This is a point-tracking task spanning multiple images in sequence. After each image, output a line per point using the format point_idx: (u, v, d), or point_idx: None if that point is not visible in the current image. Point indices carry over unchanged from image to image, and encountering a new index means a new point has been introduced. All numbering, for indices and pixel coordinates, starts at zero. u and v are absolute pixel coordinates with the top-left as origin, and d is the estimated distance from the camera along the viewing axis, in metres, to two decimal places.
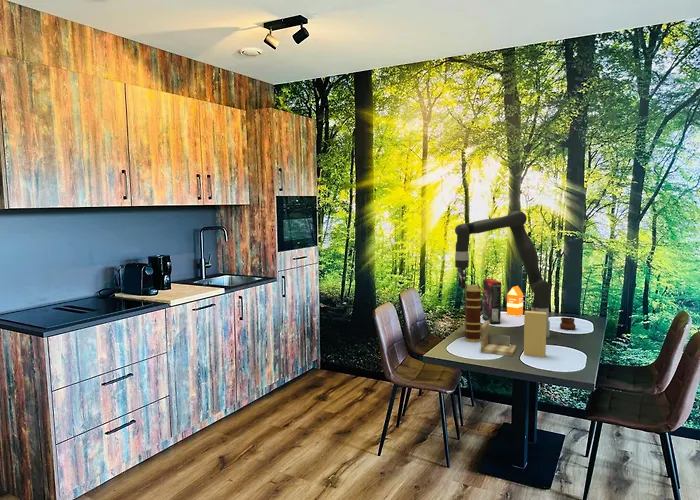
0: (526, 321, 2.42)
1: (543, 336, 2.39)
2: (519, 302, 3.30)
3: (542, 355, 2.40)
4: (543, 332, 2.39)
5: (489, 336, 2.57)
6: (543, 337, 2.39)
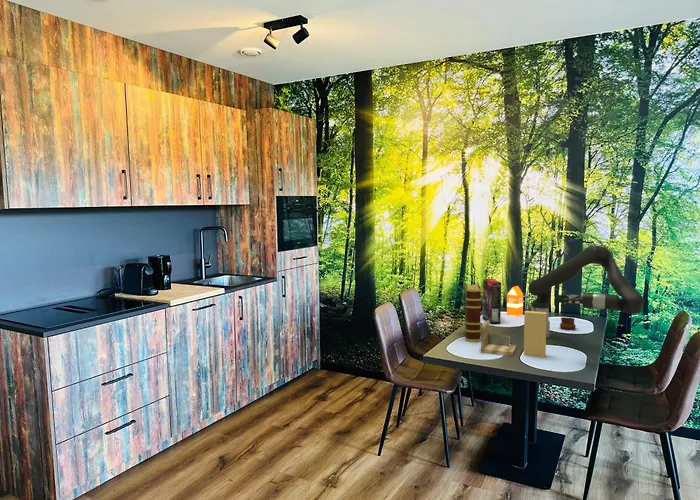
0: (526, 321, 2.42)
1: (543, 336, 2.39)
2: (519, 302, 3.30)
3: (542, 355, 2.40)
4: (543, 332, 2.39)
5: (489, 336, 2.57)
6: (543, 337, 2.39)
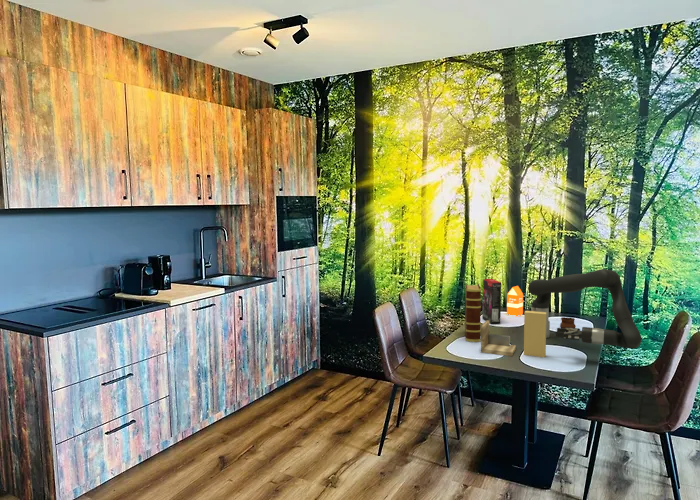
0: (526, 321, 2.42)
1: (543, 336, 2.39)
2: (519, 302, 3.30)
3: (542, 355, 2.40)
4: (543, 332, 2.39)
5: (489, 336, 2.57)
6: (543, 337, 2.39)
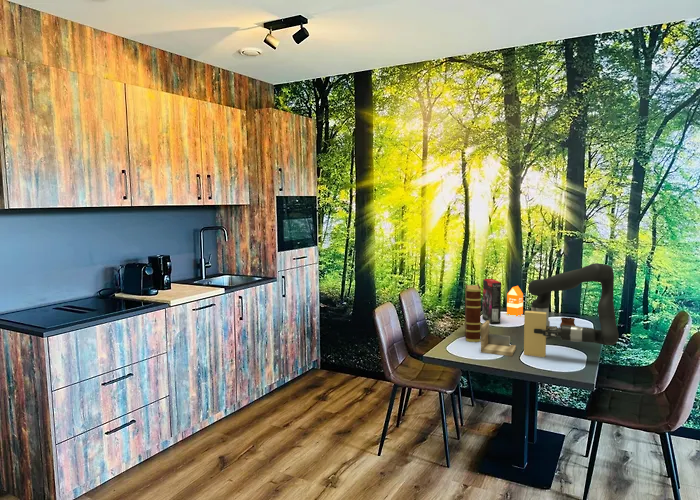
0: (527, 321, 2.42)
1: (543, 336, 2.39)
2: (519, 302, 3.30)
3: (542, 355, 2.40)
4: None
5: (489, 336, 2.57)
6: (543, 337, 2.39)
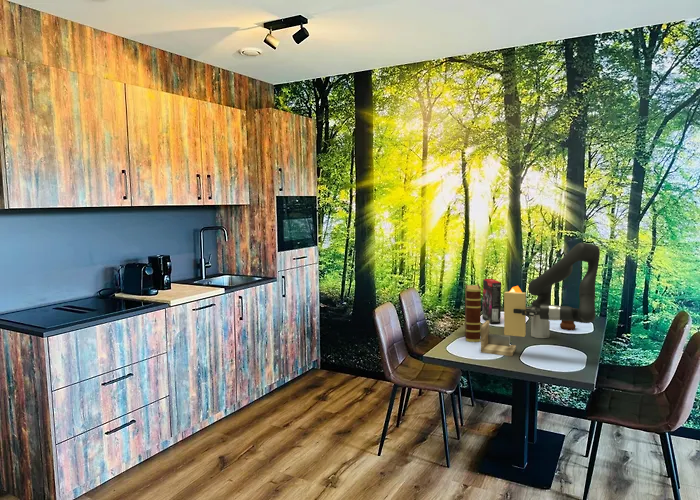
0: (506, 301, 2.46)
1: (522, 316, 2.42)
2: None
3: (522, 335, 2.43)
4: None
5: (489, 336, 2.57)
6: (522, 317, 2.43)
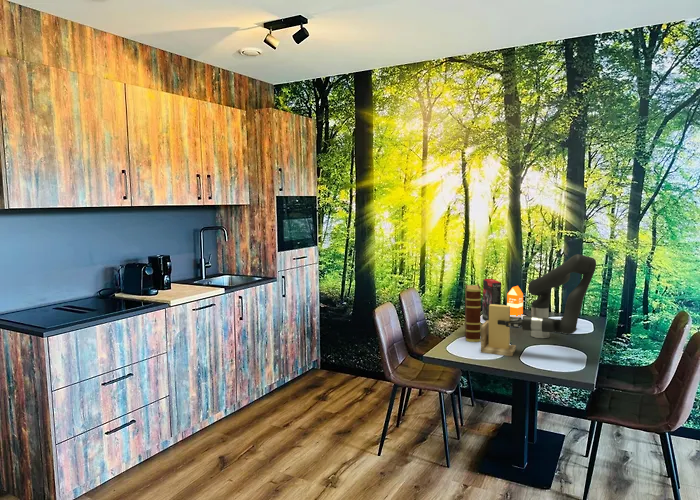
0: (491, 314, 2.50)
1: (506, 328, 2.47)
2: (519, 302, 3.30)
3: (506, 347, 2.48)
4: None
5: None
6: (506, 329, 2.47)
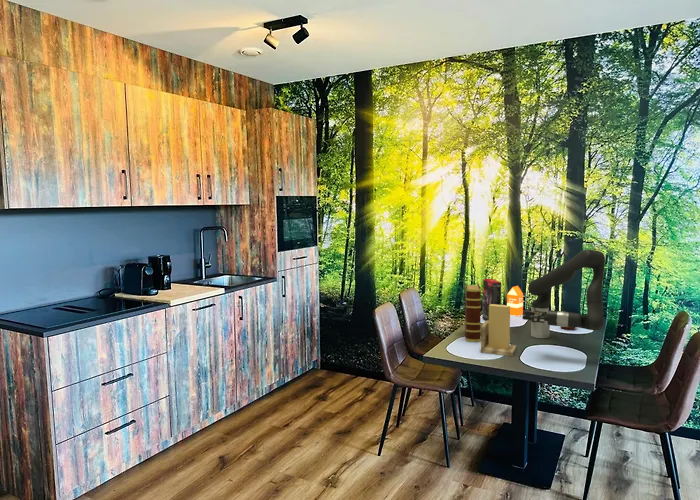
0: (491, 314, 2.50)
1: (506, 328, 2.47)
2: (519, 302, 3.30)
3: (506, 347, 2.48)
4: (506, 325, 2.47)
5: None
6: (506, 329, 2.47)
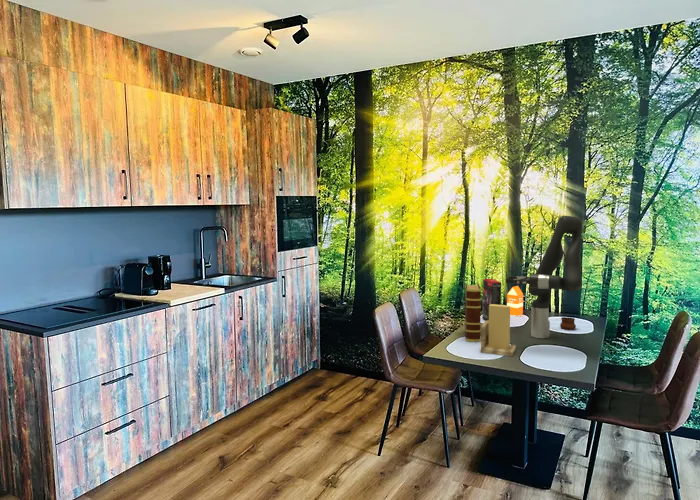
0: (491, 314, 2.50)
1: (506, 328, 2.47)
2: (519, 302, 3.30)
3: (506, 347, 2.48)
4: (506, 325, 2.47)
5: None
6: (506, 329, 2.47)
